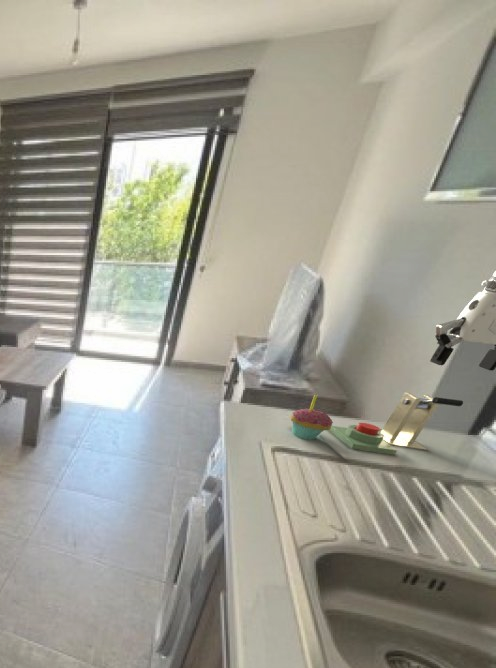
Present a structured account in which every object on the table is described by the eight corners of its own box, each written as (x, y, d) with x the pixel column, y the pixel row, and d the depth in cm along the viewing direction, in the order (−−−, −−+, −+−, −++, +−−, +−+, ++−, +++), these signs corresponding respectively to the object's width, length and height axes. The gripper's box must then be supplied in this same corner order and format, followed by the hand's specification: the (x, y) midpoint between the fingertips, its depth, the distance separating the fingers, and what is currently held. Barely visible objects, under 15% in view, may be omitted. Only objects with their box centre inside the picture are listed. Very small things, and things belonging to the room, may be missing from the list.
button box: (391, 458, 117) (401, 443, 115) (349, 451, 119) (357, 437, 117) (366, 438, 126) (374, 425, 124) (327, 432, 128) (334, 419, 126)
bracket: (424, 453, 120) (456, 406, 114) (387, 448, 122) (416, 401, 116) (399, 436, 129) (428, 392, 122) (365, 431, 130) (391, 387, 124)
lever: (461, 408, 111) (464, 398, 111) (436, 405, 112) (438, 394, 112) (424, 409, 121) (426, 400, 121) (400, 406, 122) (403, 397, 122)
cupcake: (294, 440, 123) (316, 397, 117) (276, 426, 130) (297, 385, 124) (330, 445, 122) (355, 401, 116) (311, 430, 129) (333, 388, 123)
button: (379, 437, 119) (383, 430, 118) (360, 434, 119) (364, 428, 119) (370, 430, 122) (373, 424, 121) (352, 427, 123) (355, 421, 122)
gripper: (479, 287, 99) (429, 366, 107) (579, 295, 96) (520, 376, 104) (450, 281, 105) (405, 356, 114) (543, 289, 103) (490, 365, 111)
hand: (460, 366), depth 109 cm, fingers open, 9 cm apart
